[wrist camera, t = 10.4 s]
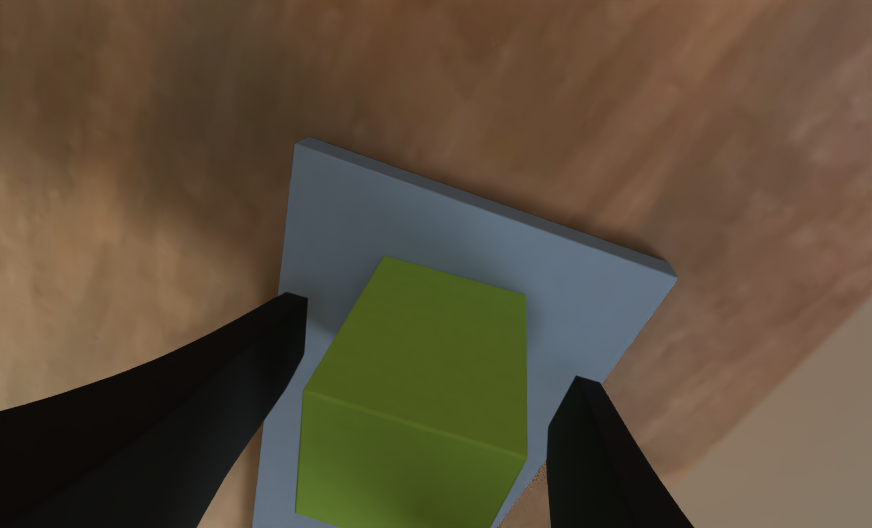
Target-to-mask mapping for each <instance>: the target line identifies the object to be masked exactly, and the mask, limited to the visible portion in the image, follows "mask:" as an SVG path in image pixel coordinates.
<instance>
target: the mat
mask: <svg viewBox="0 0 872 528" xmlns="http://www.w3.org/2000/svg"><path fill="white" fill-rule="evenodd" d="M384 256H388V257H392V258H395V259H399V260H402V261H406V262H409V263H413V264H417V265H420V266H424V267H427V268H431V269H434V270H438V271H442V272H445V273H449V274H452V275H456V276H459V277H463V278H466V279H470V280H474V281H477V282H481V283H484V284H488V285H491V286H495V287H499V288H502V289H506V290H509V291H513V292H516V293H520V294H523V295H525V296H526V329H527V428H528V459H527V461H526V462H525V464H524V466H523V468H522V470H521V472H520V474H519V475H518V477H517V479H516V481H515V483H514V485H513V487H512V488H511V490H510V492H509V494H508V496H507V498H506V500H505V501H504V503H503V505H502V507H501V509H500V511H499V513H498V514H497V516H496V518H495V520H494V522H493V524H492V526H491V527H490V528H497V526H498V525H499V523H500V522H501V521H502V519H503V518H504V517H505V515H506V514H507V512H508V511H509V510H510V508H511V507H512V506H513V504H514V503H515V501H516V500H517V499H518V497H519V496H520V495H521V493H522V492H523V491H524V489H525V488H526V486H527V485H528V484H529V482H530V481H531V480H532V478H533V477H534V475H535V474H536V473H537V471H538V470H539V469H540V467H541V466H542V465H543V463H544V462H545V460H546V459H547V436H548V426H549V424H550V422H551V420H552V418H553V416H554V415H555V413H556V411H557V409H558V407H559V405H560V404H561V402H562V400H563V398H564V396H565V394H566V393H567V391H568V389H569V387H570V385H571V383H572V382H573V380H574V378H575V376H576V375H577V376H580V377H584V378H587V379H591V380H594V381H597V382H600V384H602V382H603V381H604V380H605V378H606V377H607V376H608V374H609V373H610V371H611V370H612V369H613V367H614V366H615V365H616V363H617V362H618V360H619V359H620V358H621V356H622V355H623V354H624V352H625V351H626V350H627V348H628V347H629V345H630V344H631V343H632V341H633V340H634V339H635V337H636V336H637V334H638V333H639V332H640V330H641V329H642V328H643V326H644V325H645V324H646V322H647V321H648V319H649V318H650V317H651V315H652V314H653V313H654V311H655V310H656V308H657V307H658V306H659V304H660V303H661V302H662V300H663V299H664V297H665V296H666V295H667V293H668V292H669V291H670V289H671V288H672V287H673V285H674V284H675V282H676V281H677V280H678V276H677V275H676V273H675V271H674V270H673V268H672V267H671V265H670V263H668V262H665V261H663V260H660V259H657V258H654V257H651V256H648V255H645V254H643V253H640V252H637V251H634V250H631V249H628V248H625V247H623V246H620V245H617V244H614V243H611V242H608V241H605V240H603V239H600V238H597V237H594V236H591V235H588V234H585V233H583V232H580V231H577V230H574V229H571V228H568V227H565V226H563V225H560V224H557V223H554V222H551V221H548V220H545V219H543V218H540V217H537V216H534V215H531V214H528V213H525V212H523V211H520V210H517V209H514V208H511V207H508V206H505V205H503V204H500V203H497V202H494V201H491V200H488V199H485V198H483V197H480V196H477V195H474V194H471V193H468V192H465V191H463V190H460V189H457V188H454V187H451V186H448V185H445V184H443V183H440V182H437V181H434V180H431V179H428V178H425V177H423V176H420V175H417V174H414V173H411V172H408V171H405V170H403V169H400V168H397V167H394V166H391V165H388V164H385V163H383V162H380V161H377V160H374V159H371V158H368V157H365V156H363V155H360V154H357V153H354V152H351V151H348V150H345V149H343V148H340V147H337V146H334V145H331V144H328V143H325V142H322V141H320V140H317V139H314V138H311V137H307V138H305V139H303V140H301V141H299V142H297V143H295V145H294V154H293V163H292V172H291V181H290V190H289V199H288V208H287V217H286V226H285V235H284V244H283V253H282V262H281V271H280V280H279V289H278V296H279V295H281V294H283V293H285V292H289V293H293V294H296V295H300V296H303V297H307V298H308V308H307V323H306V338H305V354H304V356H303V358H302V360H301V362H300V364H299V366H298V368H297V370H296V372H295V374H294V375H293V377H292V379H291V381H290V383H289V385H288V386H287V388H286V390H285V391H284V393H283V394H282V395H281V397H280V398H279V400H278V401H277V403H276V404H275V406H274V407H273V408H272V410H271V411H270V413H269V414H268V416H267V417H266V418H265V420H264V423H263V432H262V441H261V450H260V459H259V468H258V477H257V486H256V495H255V504H254V513H253V522H252V528H340V527H337V526H334V525H331V524H328V523H324V522H321V521H318V520H315V519H312V518H308V517H305V516H302V515H299V514H296V513H295V499H296V484H297V469H298V454H299V439H300V424H301V409H302V394H303V389H304V388H305V386H306V384H307V383H308V381H309V379H310V378H311V376H312V374H313V373H314V371H315V370H316V368H317V366H318V365H319V363H320V361H321V360H322V358H323V356H324V355H325V353H326V351H327V350H328V348H329V346H330V345H331V343H332V341H333V340H334V338H335V336H336V335H337V333H338V331H339V330H340V328H341V326H342V325H343V323H344V321H345V320H346V318H347V316H348V315H349V313H350V311H351V310H352V308H353V307H354V305H355V303H356V302H357V300H358V298H359V297H360V295H361V293H362V292H363V290H364V288H365V287H366V285H367V283H368V282H369V280H370V278H371V277H372V275H373V273H374V272H375V270H376V268H377V267H378V265H379V263H380V262H381V260H382V258H383V257H384Z"/></svg>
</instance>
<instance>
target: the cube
mask: <svg viewBox="0 0 872 528" xmlns="http://www.w3.org/2000/svg"><path fill="white" fill-rule="evenodd" d="M527 459H528V428H527V329H526V296H525V295H523V294H520V293H516V292H513V291H509V290H506V289H502V288H499V287H495V286H491V285H488V284H484V283H481V282H477V281H474V280H470V279H466V278H463V277H459V276H456V275H452V274H449V273H445V272H442V271H438V270H434V269H431V268H427V267H424V266H420V265H417V264H413V263H409V262H406V261H402V260H399V259H395V258H392V257H388V256H384V257H383V258H382V260H381V262H380V263H379V265H378V267H377V268H376V270H375V272H374V273H373V275H372V277H371V278H370V280H369V282H368V283H367V285H366V287H365V288H364V290H363V292H362V293H361V295H360V297H359V298H358V300H357V302H356V303H355V305H354V307H353V308H352V310H351V311H350V313H349V315H348V316H347V318H346V320H345V321H344V323H343V325H342V326H341V328H340V330H339V331H338V333H337V335H336V336H335V338H334V340H333V341H332V343H331V345H330V346H329V348H328V350H327V351H326V353H325V355H324V356H323V358H322V360H321V361H320V363H319V365H318V366H317V368H316V370H315V371H314V373H313V374H312V376H311V378H310V379H309V381H308V383H307V384H306V386H305V388H304V389H303V394H302V409H301V424H300V439H299V454H298V469H297V484H296V499H295V513H296V514H299V515H302V516H305V517H308V518H312V519H315V520H318V521H321V522H324V523H328V524H331V525H334V526H337V527H340V528H490V527H491V526H492V524H493V522H494V520H495V518H496V516H497V514H498V513H499V511H500V509H501V507H502V505H503V503H504V501H505V500H506V498H507V496H508V494H509V492H510V490H511V488H512V487H513V485H514V483H515V481H516V479H517V477H518V475H519V474H520V472H521V470H522V468H523V466H524V464H525V462H526V461H527Z"/></svg>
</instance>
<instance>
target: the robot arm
mask: <svg viewBox="0 0 872 528" xmlns="http://www.w3.org/2000/svg"><path fill="white" fill-rule="evenodd" d="M307 308H308V298H307V297H303V296H300V295H296V294H293V293H289V292H285V293H283V294H281V295H279V296H277V297H276V298H274V299H272V300H270V301H268V302H267V303H265V304H263V305H261V306H259V307H258V308H256V309H254V310H252V311H251V312H249V313H247V314H245V315H243V316H242V317H240V318H238V319H236V320H234V321H232V322H231V323H229V324H227V325H225V326H223V327H221V328H219V329H217V330H216V331H214V332H212V333H210V334H208V335H206V336H204V337H202V338H200V339H198V340H196V341H194V342H191V343H189V344H187V345H185V346H183V347H181V348H179V349H177V350H175V351H173V352H171V353H168V354H166V355H164V356H162V357H159V358H157V359H155V360H152V361H150V362H147V363H145V364H142V365H140V366H137V367H135V368H132V369H130V370H127V371H125V372H122V373H120V374H117V375H114V376H111V377H108V378H106V379H103V380H100V381H97V382H94V383H91V384H88V385H85V386H82V387H79V388H76V389H73V390H70V391H67V392H64V393H61V394H58V395H55V396H52V397H48V398H45V399H42V400H38V401H35V402H31V403H28V404H25V405H21V406H17V407H14V408H10V409H6V410H3V411H0V528H197V526H198V524H199V522H200V520H201V519H202V517H203V515H204V513H205V511H206V510H207V508H208V506H209V504H210V503H211V501H212V499H213V497H214V496H215V494H216V492H217V491H218V489H219V487H220V485H221V484H222V482H223V480H224V478H225V477H226V475H227V474H228V472H229V471H230V469H231V467H232V466H233V464H234V463H235V461H236V460H237V458H238V457H239V456H240V454H241V453H242V451H243V450H244V448H245V447H246V446H247V444H248V443H249V441H250V440H251V438H252V437H253V436H254V434H255V433H256V431H257V430H258V428H259V427H260V426H261V424H262V423H263V421H264V420H265V418H266V417H267V416H268V414H269V413H270V411H271V410H272V408H273V407H274V406H275V404H276V403H277V401H278V400H279V398H280V397H281V395H282V394H283V393H284V391H285V390H286V388H287V386H288V385H289V383H290V381H291V379H292V377H293V375H294V374H295V372H296V370H297V368H298V366H299V364H300V362H301V360H302V358H303V356H304V354H305V338H306V323H307ZM546 468H547V482H548V495H549V508H550V520H551V528H694V527H693V525H692V524H691V523H690V522H689V520H688V519H687V518H686V516H685V515H684V513H683V512H682V511H681V509H680V508H679V507H678V505H677V504H676V502H675V501H674V499H673V498H672V496H671V495H670V494H669V492H668V491H667V489H666V488H665V486H664V485H663V484H662V482H661V481H660V479H659V478H658V476H657V475H656V473H655V472H654V470H653V469H652V467H651V466H650V464H649V463H648V461H647V459H646V458H645V456H644V455H643V453H642V452H641V450H640V448H639V447H638V445H637V444H636V442H635V440H634V439H633V437H632V435H631V434H630V432H629V431H628V429H627V427H626V426H625V424H624V422H623V421H622V419H621V417H620V416H619V414H618V412H617V410H616V409H615V407H614V405H613V404H612V402H611V400H610V399H609V397H608V395H607V394H606V392H605V390H604V389H603V387H602V385H601V384H600V382H597V381H594V380H591V379H587V378H584V377H580V376H577V375H576V376H575V378H574V380H573V382H572V383H571V385H570V387H569V389H568V391H567V393H566V394H565V396H564V398H563V400H562V402H561V404H560V405H559V407H558V409H557V411H556V413H555V415H554V416H553V418H552V420H551V422H550V424H549V426H548V436H547V459H546Z"/></svg>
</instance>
